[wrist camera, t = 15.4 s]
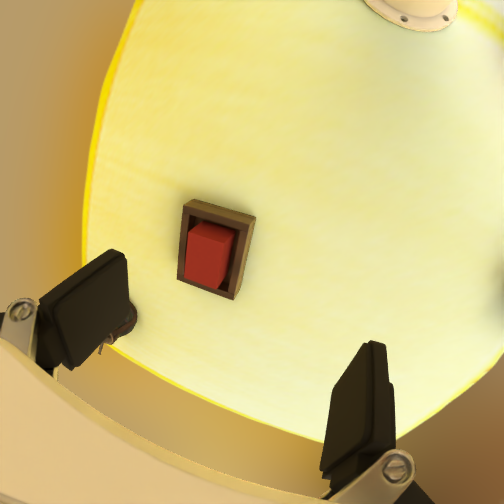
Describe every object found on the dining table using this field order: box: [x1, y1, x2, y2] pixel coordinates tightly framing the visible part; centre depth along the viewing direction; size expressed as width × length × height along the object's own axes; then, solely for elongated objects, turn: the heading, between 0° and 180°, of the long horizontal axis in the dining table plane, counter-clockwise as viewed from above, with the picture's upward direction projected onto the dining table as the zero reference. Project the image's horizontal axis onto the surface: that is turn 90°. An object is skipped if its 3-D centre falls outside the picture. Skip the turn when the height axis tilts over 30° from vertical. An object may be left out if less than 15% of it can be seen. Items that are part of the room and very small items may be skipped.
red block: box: [184, 221, 236, 289], centre depth 35 cm, size 6×4×4 cm
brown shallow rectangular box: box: [177, 199, 256, 300], centre depth 36 cm, size 11×8×3 cm
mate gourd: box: [98, 301, 137, 354], centre depth 45 cm, size 7×8×10 cm
